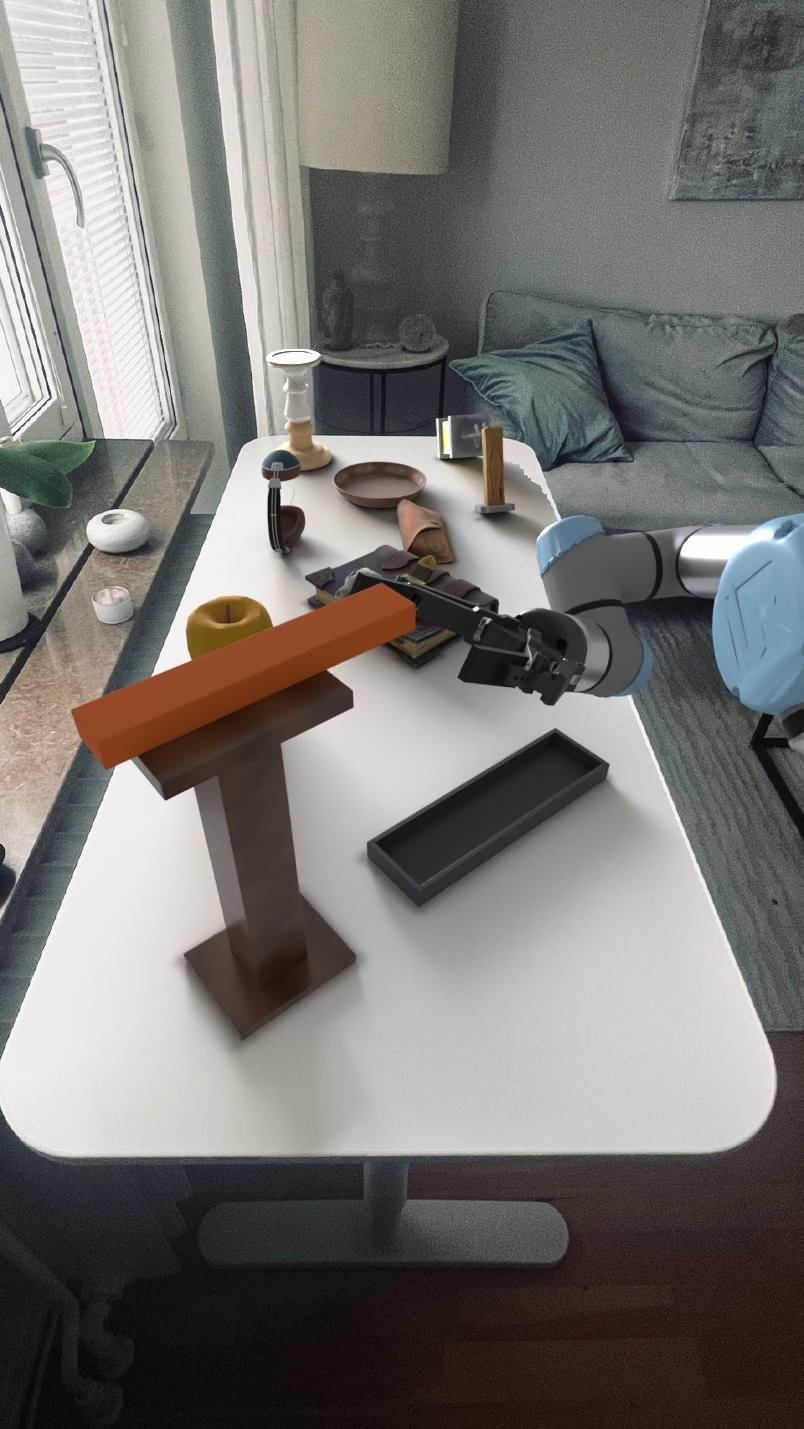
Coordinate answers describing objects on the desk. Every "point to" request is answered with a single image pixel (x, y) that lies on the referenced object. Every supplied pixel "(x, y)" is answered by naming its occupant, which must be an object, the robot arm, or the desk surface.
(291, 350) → the candle holder
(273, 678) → the orange long flat bar
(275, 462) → the headphones
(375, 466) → the plant saucer
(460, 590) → the book
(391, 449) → the desk surface
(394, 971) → the desk surface
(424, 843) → the tray
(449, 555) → the sunglasses case
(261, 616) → the apple
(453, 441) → the desk lamp
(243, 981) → the stand
